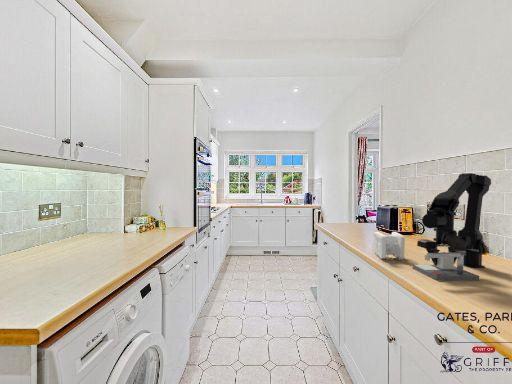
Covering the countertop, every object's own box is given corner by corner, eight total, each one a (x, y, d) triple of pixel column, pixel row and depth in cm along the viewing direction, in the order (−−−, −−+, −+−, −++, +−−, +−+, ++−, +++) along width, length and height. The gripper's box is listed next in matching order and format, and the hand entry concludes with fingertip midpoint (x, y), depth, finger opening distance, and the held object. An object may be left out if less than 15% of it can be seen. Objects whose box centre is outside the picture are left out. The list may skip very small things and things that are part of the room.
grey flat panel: (450, 268, 107) (450, 263, 107) (479, 280, 94) (479, 274, 94) (412, 268, 107) (412, 263, 107) (436, 280, 93) (436, 274, 93)
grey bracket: (422, 273, 94) (423, 250, 94) (459, 272, 97) (460, 249, 97) (429, 276, 92) (429, 252, 91) (466, 274, 94) (467, 251, 94)
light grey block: (444, 265, 105) (445, 251, 105) (453, 269, 101) (454, 254, 101) (434, 265, 105) (434, 251, 105) (442, 269, 101) (442, 253, 101)
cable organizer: (405, 262, 116) (406, 236, 116) (380, 260, 118) (381, 235, 118) (394, 253, 131) (394, 231, 130) (372, 252, 133) (372, 230, 132)
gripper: (436, 230, 94) (435, 272, 95) (486, 230, 95) (484, 272, 95) (416, 225, 106) (415, 263, 106) (461, 225, 106) (460, 263, 106)
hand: (443, 265), depth 103 cm, fingers open, 6 cm apart
